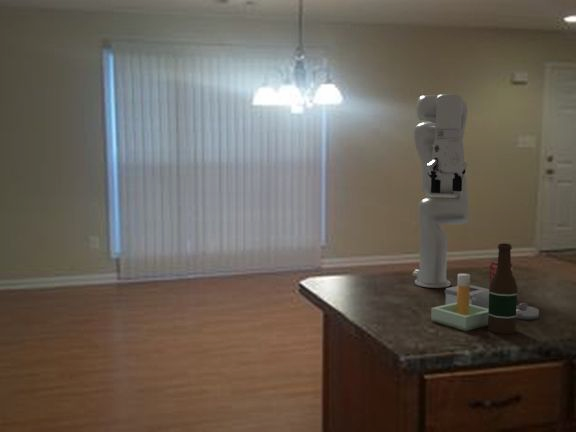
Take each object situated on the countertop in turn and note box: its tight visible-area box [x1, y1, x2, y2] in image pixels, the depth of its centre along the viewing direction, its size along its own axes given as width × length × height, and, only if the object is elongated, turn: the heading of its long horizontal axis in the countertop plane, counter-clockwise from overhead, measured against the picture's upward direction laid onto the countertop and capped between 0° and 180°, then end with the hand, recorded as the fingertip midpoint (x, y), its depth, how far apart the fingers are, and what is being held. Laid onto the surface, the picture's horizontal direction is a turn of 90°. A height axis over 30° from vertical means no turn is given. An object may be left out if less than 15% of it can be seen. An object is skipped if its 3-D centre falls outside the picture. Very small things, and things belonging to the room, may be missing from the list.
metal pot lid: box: [516, 302, 540, 321], centre depth 192 cm, size 9×9×4 cm
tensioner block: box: [444, 284, 489, 309], centre depth 200 cm, size 10×11×6 cm
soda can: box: [489, 259, 514, 283], centre depth 209 cm, size 7×7×13 cm
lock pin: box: [456, 273, 471, 315], centre depth 184 cm, size 3×3×13 cm
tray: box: [430, 302, 489, 332], centre depth 185 cm, size 12×12×4 cm
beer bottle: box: [487, 243, 518, 335], centre depth 175 cm, size 8×8×24 cm
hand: (446, 191), depth 197 cm, fingers open, 9 cm apart
